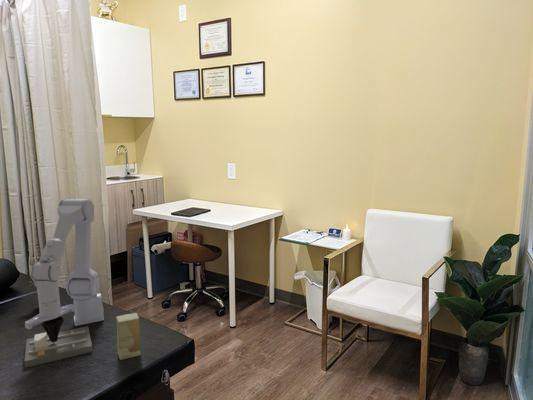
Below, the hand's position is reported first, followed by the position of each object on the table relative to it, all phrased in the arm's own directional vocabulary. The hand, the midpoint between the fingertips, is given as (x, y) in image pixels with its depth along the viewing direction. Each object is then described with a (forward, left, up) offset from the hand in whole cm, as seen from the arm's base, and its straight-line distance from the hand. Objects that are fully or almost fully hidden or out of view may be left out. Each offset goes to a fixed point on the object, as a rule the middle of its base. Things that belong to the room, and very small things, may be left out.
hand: (53, 340), depth 127 cm
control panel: (-1, 0, -3) cm, 3 cm away
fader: (+3, 0, -1) cm, 4 cm away
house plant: (+3, -39, -3) cm, 39 cm away
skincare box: (-20, +14, -3) cm, 25 cm away
